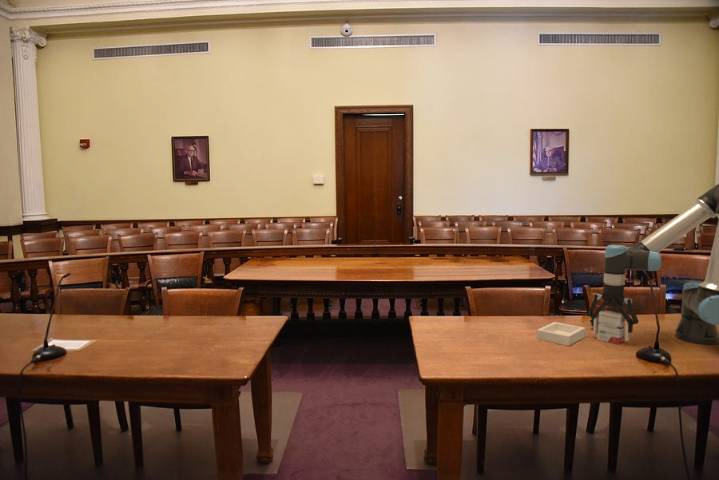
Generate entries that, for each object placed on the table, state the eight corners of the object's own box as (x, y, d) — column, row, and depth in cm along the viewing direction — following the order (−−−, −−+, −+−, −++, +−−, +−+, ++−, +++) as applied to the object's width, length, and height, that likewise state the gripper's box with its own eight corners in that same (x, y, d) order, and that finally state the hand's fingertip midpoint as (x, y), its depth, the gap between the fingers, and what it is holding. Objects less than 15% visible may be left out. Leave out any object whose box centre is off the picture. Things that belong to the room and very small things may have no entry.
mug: (615, 333, 211) (617, 298, 209) (596, 333, 211) (598, 298, 209) (599, 324, 225) (601, 291, 224) (581, 323, 225) (583, 291, 224)
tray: (585, 336, 206) (585, 327, 206) (568, 345, 194) (568, 336, 194) (554, 330, 215) (554, 321, 215) (536, 338, 203) (536, 329, 203)
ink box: (624, 342, 199) (626, 313, 198) (618, 344, 196) (620, 315, 194) (602, 337, 205) (604, 309, 204) (597, 339, 202) (598, 311, 201)
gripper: (649, 286, 192) (646, 341, 195) (586, 278, 209) (584, 329, 211) (644, 289, 187) (640, 345, 189) (579, 281, 204) (577, 332, 206)
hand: (610, 336), depth 200 cm, fingers open, 11 cm apart
